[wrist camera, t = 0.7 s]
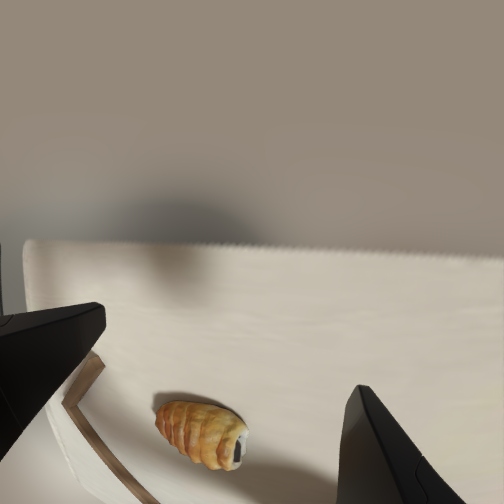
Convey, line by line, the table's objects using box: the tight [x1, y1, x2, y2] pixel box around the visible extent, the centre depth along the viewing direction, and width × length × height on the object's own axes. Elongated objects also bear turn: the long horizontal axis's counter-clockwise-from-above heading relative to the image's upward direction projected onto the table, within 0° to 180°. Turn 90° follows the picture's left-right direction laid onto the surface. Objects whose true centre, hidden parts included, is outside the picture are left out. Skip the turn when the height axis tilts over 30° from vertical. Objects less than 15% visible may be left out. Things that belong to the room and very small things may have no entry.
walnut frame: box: [61, 356, 160, 504], centre depth 26 cm, size 27×14×2 cm, turn 45°
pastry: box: [155, 401, 249, 471], centre depth 22 cm, size 9×7×4 cm
